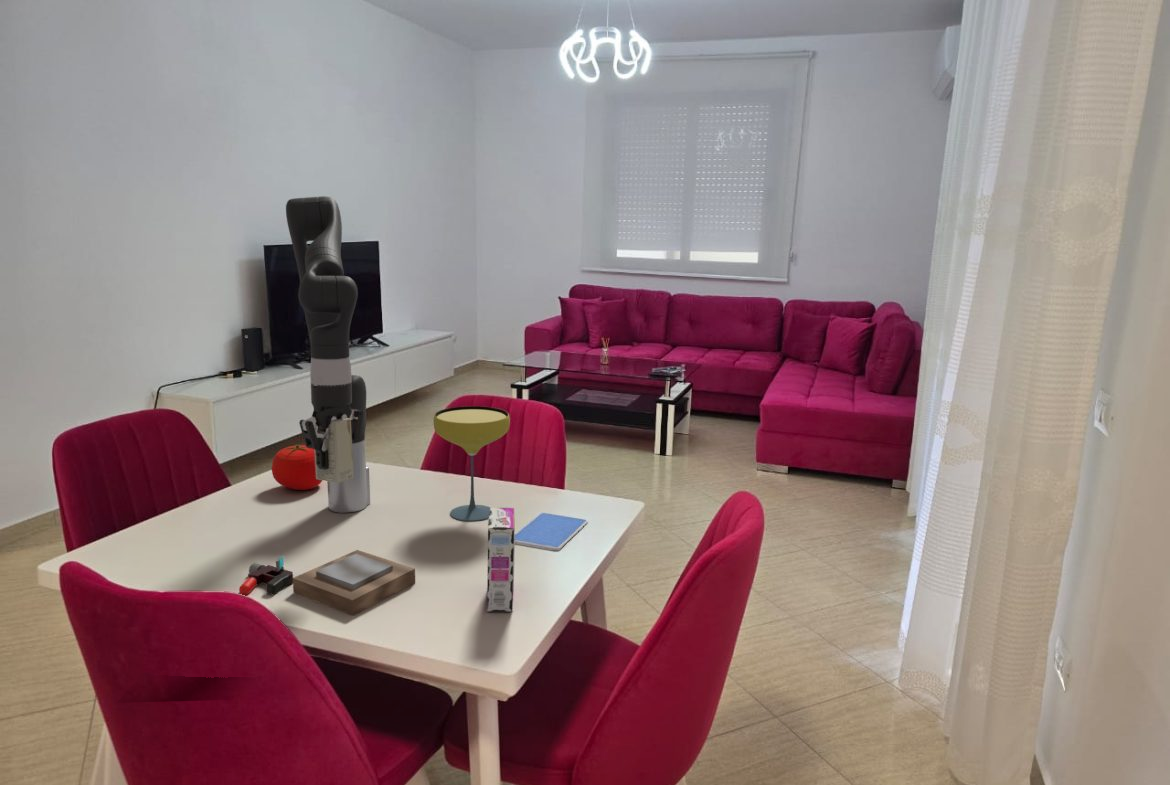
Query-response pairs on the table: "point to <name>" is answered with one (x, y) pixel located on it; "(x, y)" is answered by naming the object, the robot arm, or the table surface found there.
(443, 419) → the cocktail glass
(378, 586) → the walnut plinth
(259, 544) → the table surface
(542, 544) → the tablet computer
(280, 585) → the toy gun
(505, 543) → the candy bar box
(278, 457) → the tomato
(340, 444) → the skincare box
